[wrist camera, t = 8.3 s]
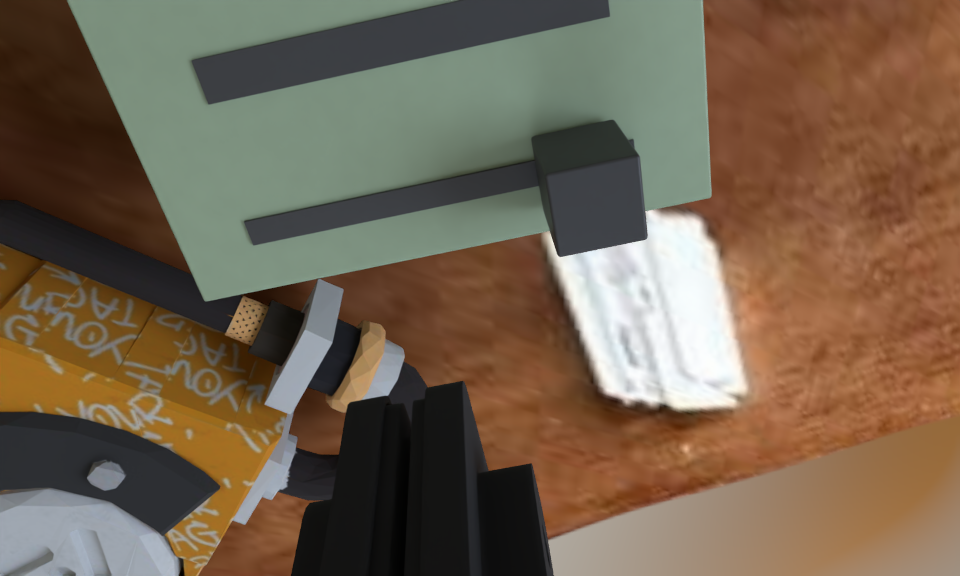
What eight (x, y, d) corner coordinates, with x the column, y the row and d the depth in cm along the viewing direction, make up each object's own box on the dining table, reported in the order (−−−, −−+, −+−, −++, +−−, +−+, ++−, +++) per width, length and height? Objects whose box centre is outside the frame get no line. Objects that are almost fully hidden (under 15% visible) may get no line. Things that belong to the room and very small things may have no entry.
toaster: (157, -133, 27) (3, -128, 17) (595, -236, 26) (692, -292, 16) (269, 174, 33) (203, 304, 23) (628, 97, 32) (713, 199, 22)
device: (-441, 59, 21) (470, 430, 30) (-220, 9, 28) (463, 320, 37) (-438, 551, 30) (258, 725, 39) (-272, 419, 38) (285, 591, 46)
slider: (530, 135, 21) (544, 174, 18) (614, 117, 21) (640, 154, 18) (543, 211, 22) (558, 258, 20) (622, 195, 22) (648, 240, 19)
